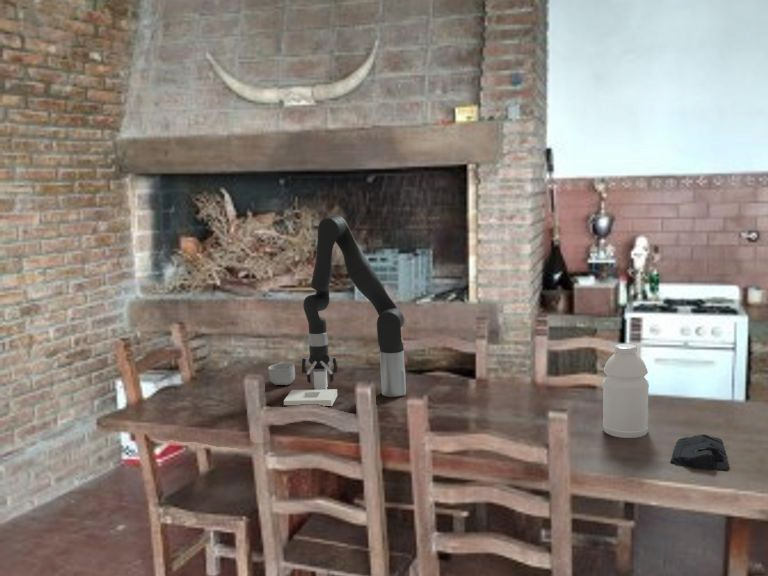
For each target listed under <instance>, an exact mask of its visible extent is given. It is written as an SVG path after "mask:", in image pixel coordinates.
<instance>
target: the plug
mask: <svg viewBox="0 0 768 576" xmlns="http://www.w3.org/2000/svg"><path fill="white" fill-rule="evenodd" d="M312 371H313V387H314V389H313V390H321V389H328V388H327V387H329V386H328V371H327V370H326V369H325V368H313V369H312Z"/></svg>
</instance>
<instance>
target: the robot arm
mask: <svg viewBox="0 0 768 576" xmlns="http://www.w3.org/2000/svg"><path fill="white" fill-rule="evenodd" d="M335 243H336V245H337V246H338V248H339V249H340V252H341V253H342V257H343V261H344V265H345V268H346V272H347V273H348V276H349V278H350V280H351V281H352V283H353V284H354V286H355V287H356V288H357V290H358V291H359V292H360V293H361V294H362V295H363V296H364V297H365V298H367V300H368V301H369V302H370V303H371V304H372V306H373V307H374V309H375V311H376V313H377V314H378V317H377V320H376V321H377V322H376V332H377V343H378V346H379V347H378V348H379V360H380V361H379V362H380V364H379V365H380V379H381V380H380V382H381V383H380V384H381V394H382V396H383V397H389V398H394V397H395V398H396V397H403V396H406V392H407V384H406V368H405V348H404V343H403V340H402V328H403V325H404V323H405V322H404V321H405V318H404V314H403V313H402V311H401V310H400V309H399V307H398V306H397V305H396V303H395V302H394V301H393V300H392V298H391V297H390V295H389V294H388V292H387V291H386V289H385V287H384V285H383V284H382V282H381V279H380V278H379V277H378V275H377V273H376V271H375V269H374V268H373V267H372V265H371V263H370V262H369V260H368V259H367V257H366V255H365V254H364V252H363V250H362V249H361V247H360V246H359V245H358V243H357V241H356V238H355V237H354V234H353V233H352V231H351V228H350V226H349V225H348V223H347V221H346V220H345V219H344V217H342V216H341V215H339V214H332V215H329V216H326V217H324V218H323V219H322V220H320V221H319V224H318V228H317V243H316V244H317V245H316V256H315V262H314V270H313V273H312V276H311V277H312V279H311V283H310V284H311V288H312V289H313V290H314V291H315V294H310V295H307V296H306V297H305V298H304V299H303V303H302V305H303V311H304V314H305V316H306V317H305V318H306V320H307V322H308V347H309V357H305V356H303V358H302V359H301V373H302V374H306V380H307V381H306V382H307V383H309V384H312V381H313V380H312V371H313V369H314V368H325V369H326V370H327V373H329V383H330V384H332V383H333V382H334V380H335V376H334V375H335V373H338V371H339V367H338V357H337V356H334V357H330V355H329V354H330V353H329V340H328V333H327V332H328V331H327V320H326V318H325V317H323V316H320V314H319V312H322V311H324V310H326V309H327V308H328V307H329V305H330V283H331V282H330V281H331V278H332V275H333V274H332V273H333V264H332V263H333V261H332V253H333V248H334V245H335ZM308 362H309V363H310V364H311V366H309V368H308V369H307V364H308ZM329 362H331V363H332V365H333V368H332V367H331V365H330V363H329Z"/></svg>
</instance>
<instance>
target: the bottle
mask: <svg viewBox="0 0 768 576" xmlns="http://www.w3.org/2000/svg"><path fill="white" fill-rule="evenodd" d="M637 351H638V349H637V345H635V344H632V343H618V344H615V346H614V352H615V353H613V354H612V355H611V356H610V357H609V358H608V360H607V361H606V363H605V364H604V368H603V372H604V374H605V375H606V377H605V378H604V379H603V380H602V402H603V403H602V411H603V412H602V413H603V414H602V416H603V417H602V418H603V420H602V429H603V432H604V433H605V434H607V435H609V436H612V437H615V438H622V439H634V438H635V439H637V438H642V437H645V436H646V435H647V434H648V433H649V385H650V384H649V380H647V379H646V378H645V376H647V374H649V372H648V368H647V365H646V364H645V362H644V360H643V359H642V358H641V356H640V355H639V354H637Z"/></svg>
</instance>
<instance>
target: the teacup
mask: <svg viewBox="0 0 768 576" xmlns="http://www.w3.org/2000/svg"><path fill="white" fill-rule="evenodd" d="M295 369H296V368H295V364H294V363H293V362H282V361H281V362H278V363H274V364H271V365H269V366H268V368H267V370H268V374H269V380H270V382H271V383H272V384H273V385H275V386H276V385H285V386H288V385H291V384H292V382H293V381H294V380H295V378H296V371H295Z"/></svg>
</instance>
